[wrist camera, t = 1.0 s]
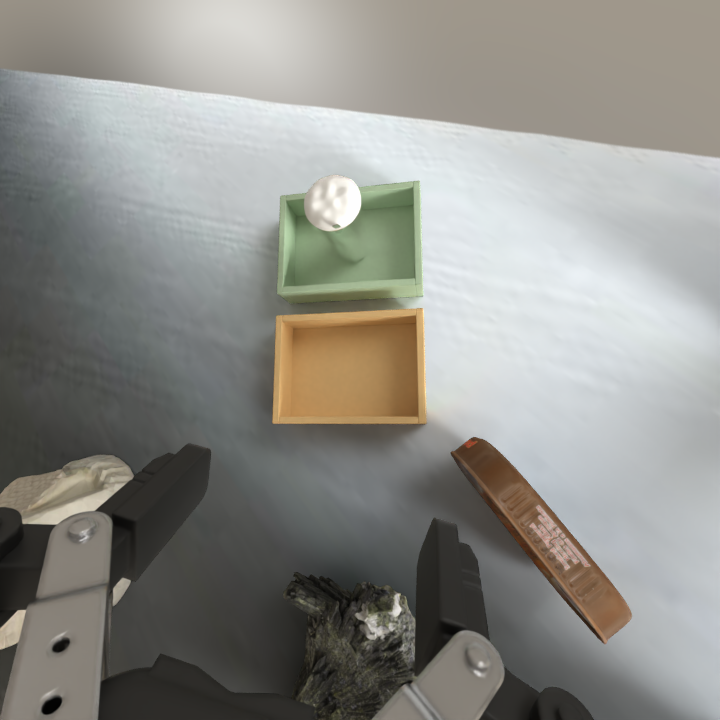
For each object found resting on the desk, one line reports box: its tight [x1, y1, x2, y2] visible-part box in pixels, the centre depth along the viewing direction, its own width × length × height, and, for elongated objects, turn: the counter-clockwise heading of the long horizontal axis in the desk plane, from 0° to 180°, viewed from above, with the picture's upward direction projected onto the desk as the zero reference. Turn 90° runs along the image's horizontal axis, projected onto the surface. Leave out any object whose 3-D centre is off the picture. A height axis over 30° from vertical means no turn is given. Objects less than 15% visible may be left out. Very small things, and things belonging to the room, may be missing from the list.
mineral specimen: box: [283, 572, 417, 720], centre depth 29 cm, size 15×13×10 cm
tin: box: [451, 437, 632, 644], centre depth 28 cm, size 15×3×8 cm, turn 37°
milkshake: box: [304, 175, 369, 262], centre depth 33 cm, size 4×5×10 cm
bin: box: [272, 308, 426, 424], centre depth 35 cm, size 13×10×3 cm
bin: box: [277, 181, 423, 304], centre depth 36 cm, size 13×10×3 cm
